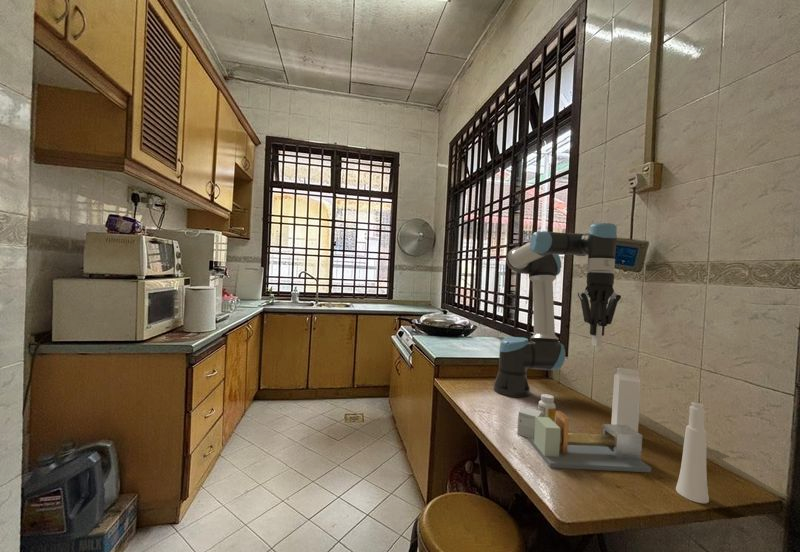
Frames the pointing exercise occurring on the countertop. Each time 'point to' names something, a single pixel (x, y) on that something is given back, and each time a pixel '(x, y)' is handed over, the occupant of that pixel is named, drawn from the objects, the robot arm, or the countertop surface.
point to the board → (591, 459)
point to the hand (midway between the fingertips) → (596, 345)
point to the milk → (626, 398)
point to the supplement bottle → (547, 406)
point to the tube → (579, 436)
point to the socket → (547, 436)
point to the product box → (527, 421)
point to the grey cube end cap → (624, 442)
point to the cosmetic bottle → (694, 458)
